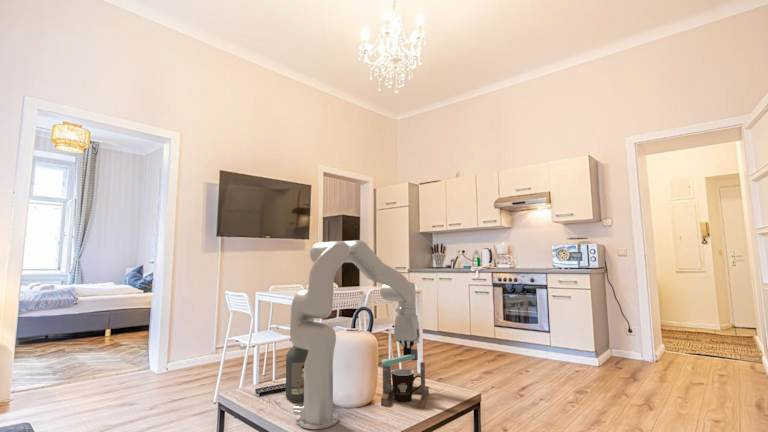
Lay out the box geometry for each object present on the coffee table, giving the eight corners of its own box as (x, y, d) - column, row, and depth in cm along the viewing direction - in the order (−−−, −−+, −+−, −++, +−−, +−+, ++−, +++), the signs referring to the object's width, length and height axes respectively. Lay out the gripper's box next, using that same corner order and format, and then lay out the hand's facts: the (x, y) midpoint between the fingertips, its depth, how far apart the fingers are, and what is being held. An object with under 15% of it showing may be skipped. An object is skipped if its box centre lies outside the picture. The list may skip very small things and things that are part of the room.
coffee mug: (387, 401, 146) (387, 373, 148) (397, 394, 154) (397, 368, 155) (416, 406, 141) (415, 377, 142) (425, 398, 149) (424, 371, 150)
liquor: (283, 397, 153) (284, 318, 156) (305, 392, 158) (305, 316, 161) (293, 404, 145) (294, 321, 149) (315, 398, 151) (316, 318, 154)
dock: (379, 405, 143) (378, 364, 144) (389, 390, 158) (388, 353, 160) (423, 408, 139) (422, 366, 141) (429, 393, 155) (428, 355, 156)
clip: (386, 368, 148) (386, 357, 148) (380, 367, 151) (379, 356, 151) (419, 359, 160) (419, 349, 161) (413, 358, 163) (413, 348, 163)
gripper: (387, 311, 166) (387, 356, 164) (418, 314, 158) (419, 361, 156) (396, 310, 172) (396, 353, 170) (426, 312, 164) (427, 357, 162)
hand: (407, 357), depth 163 cm, fingers closed
